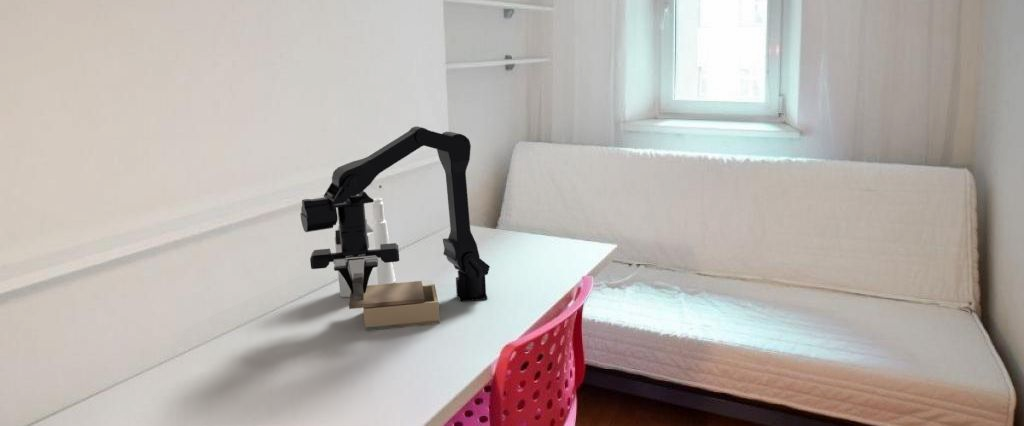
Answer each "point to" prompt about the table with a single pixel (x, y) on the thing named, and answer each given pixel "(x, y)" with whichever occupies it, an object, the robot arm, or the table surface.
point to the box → (404, 313)
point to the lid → (384, 293)
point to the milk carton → (357, 266)
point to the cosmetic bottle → (381, 242)
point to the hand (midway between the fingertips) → (359, 292)
